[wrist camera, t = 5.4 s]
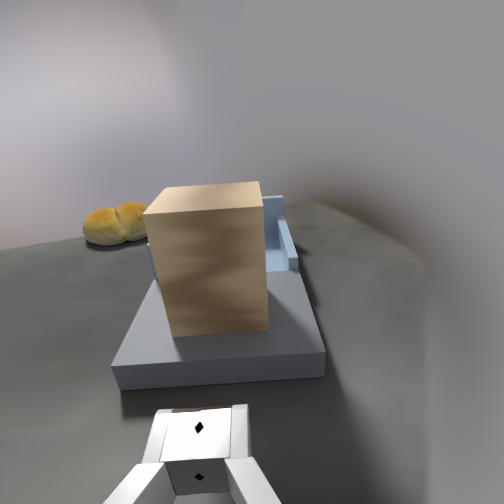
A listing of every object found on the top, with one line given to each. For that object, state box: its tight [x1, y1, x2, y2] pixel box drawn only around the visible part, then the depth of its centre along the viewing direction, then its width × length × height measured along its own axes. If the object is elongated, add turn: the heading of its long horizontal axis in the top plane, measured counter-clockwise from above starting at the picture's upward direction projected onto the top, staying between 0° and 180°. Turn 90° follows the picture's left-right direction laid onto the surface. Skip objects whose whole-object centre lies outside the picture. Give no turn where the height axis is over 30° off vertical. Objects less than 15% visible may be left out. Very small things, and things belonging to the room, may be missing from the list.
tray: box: [147, 195, 298, 279], centre depth 29 cm, size 12×11×5 cm
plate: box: [111, 270, 326, 391], centre depth 21 cm, size 12×9×2 cm
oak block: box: [142, 182, 269, 337], centre depth 19 cm, size 6×5×8 cm
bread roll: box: [83, 202, 148, 246], centre depth 39 cm, size 8×9×4 cm
